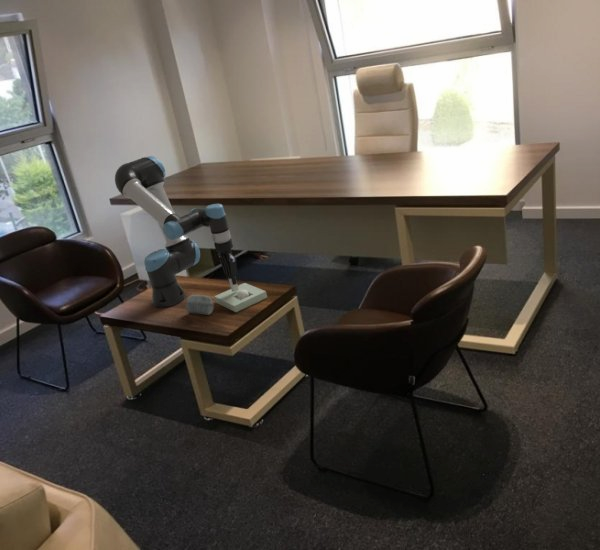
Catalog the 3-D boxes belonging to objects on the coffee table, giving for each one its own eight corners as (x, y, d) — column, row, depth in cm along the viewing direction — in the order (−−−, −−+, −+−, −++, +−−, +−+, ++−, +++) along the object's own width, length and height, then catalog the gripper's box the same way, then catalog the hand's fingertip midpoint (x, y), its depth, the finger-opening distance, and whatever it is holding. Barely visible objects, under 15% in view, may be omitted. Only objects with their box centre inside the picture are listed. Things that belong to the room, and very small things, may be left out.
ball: (240, 295, 252) (242, 304, 254) (250, 290, 254) (251, 300, 257) (234, 290, 255) (235, 300, 258) (243, 286, 258) (245, 295, 260)
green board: (215, 302, 262) (214, 296, 261) (246, 288, 270) (244, 282, 269) (236, 312, 248) (234, 306, 247) (267, 297, 256) (265, 291, 254)
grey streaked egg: (177, 310, 254) (184, 288, 252) (193, 310, 261) (199, 289, 260) (199, 322, 246) (206, 299, 245) (215, 321, 254) (221, 299, 252)
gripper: (207, 240, 255) (220, 290, 263) (222, 245, 244) (235, 297, 253) (222, 235, 258) (235, 284, 267) (237, 239, 248) (250, 290, 257)
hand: (235, 290), depth 260 cm, fingers closed
